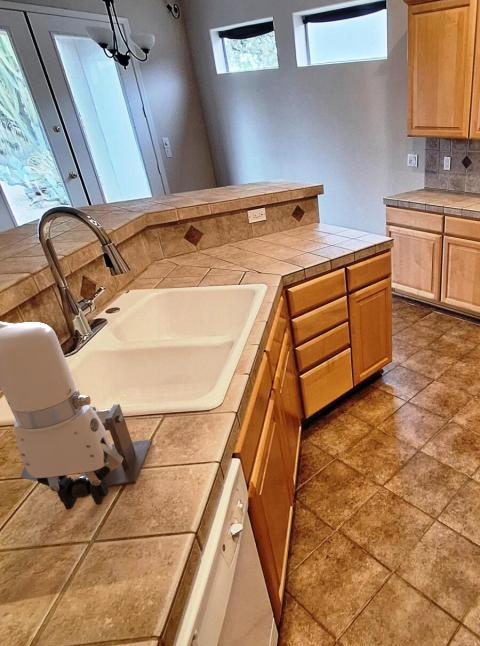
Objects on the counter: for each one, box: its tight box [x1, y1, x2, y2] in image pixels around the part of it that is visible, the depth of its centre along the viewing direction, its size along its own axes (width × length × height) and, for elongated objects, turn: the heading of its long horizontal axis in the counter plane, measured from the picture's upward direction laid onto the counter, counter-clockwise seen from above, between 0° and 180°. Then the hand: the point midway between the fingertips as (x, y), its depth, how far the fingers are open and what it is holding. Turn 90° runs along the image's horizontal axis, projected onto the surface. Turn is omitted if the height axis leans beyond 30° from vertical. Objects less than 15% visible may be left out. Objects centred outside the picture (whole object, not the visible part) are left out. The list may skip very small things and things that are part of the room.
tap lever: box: [69, 409, 110, 500], centre depth 73 cm, size 16×3×3 cm, turn 14°
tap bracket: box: [91, 403, 154, 489], centre depth 79 cm, size 12×9×13 cm
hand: (87, 499), depth 69 cm, fingers closed on tap lever, 3 cm apart
